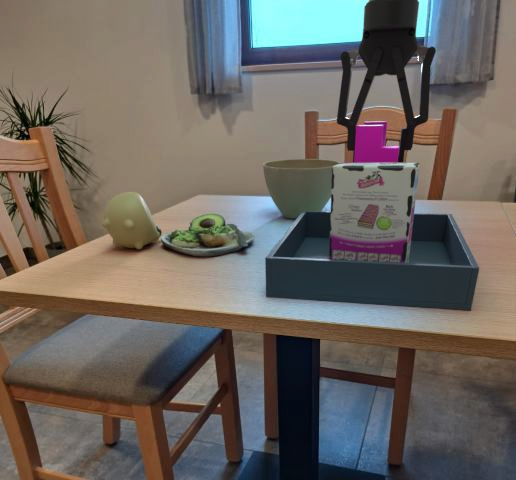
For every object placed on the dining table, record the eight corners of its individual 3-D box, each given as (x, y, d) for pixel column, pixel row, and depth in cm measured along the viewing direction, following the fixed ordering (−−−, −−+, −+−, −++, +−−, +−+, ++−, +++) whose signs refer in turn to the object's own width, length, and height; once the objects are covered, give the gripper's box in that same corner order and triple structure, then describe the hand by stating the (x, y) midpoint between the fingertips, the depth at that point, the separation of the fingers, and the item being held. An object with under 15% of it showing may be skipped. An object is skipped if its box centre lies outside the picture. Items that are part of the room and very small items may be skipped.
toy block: (395, 180, 69) (400, 125, 65) (352, 180, 71) (356, 126, 67) (397, 167, 82) (402, 120, 78) (361, 167, 83) (365, 121, 80)
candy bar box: (407, 277, 70) (422, 161, 62) (402, 288, 66) (417, 166, 58) (335, 270, 74) (340, 160, 66) (326, 280, 70) (331, 164, 62)
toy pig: (159, 265, 93) (175, 221, 97) (131, 230, 82) (150, 182, 86) (118, 259, 96) (135, 217, 99) (85, 226, 85) (106, 179, 89)
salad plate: (280, 246, 90) (279, 222, 87) (200, 266, 80) (198, 240, 78) (225, 229, 103) (223, 208, 101) (152, 244, 94) (149, 221, 92)
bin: (446, 245, 87) (451, 213, 85) (471, 310, 60) (479, 268, 58) (302, 239, 94) (303, 210, 91) (266, 296, 67) (265, 257, 64)
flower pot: (254, 222, 109) (252, 167, 103) (276, 207, 124) (275, 158, 118) (330, 225, 103) (332, 168, 98) (343, 209, 119) (346, 158, 113)
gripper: (320, 0, 64) (315, 175, 75) (469, -12, 60) (441, 175, 71) (326, 9, 71) (321, 169, 81) (461, -2, 66) (437, 169, 77)
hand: (377, 171), depth 76 cm, fingers closed on toy block, 6 cm apart
